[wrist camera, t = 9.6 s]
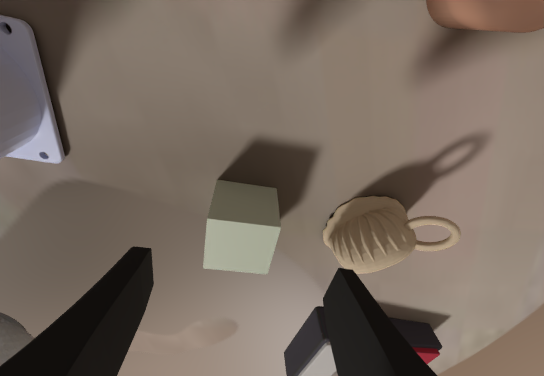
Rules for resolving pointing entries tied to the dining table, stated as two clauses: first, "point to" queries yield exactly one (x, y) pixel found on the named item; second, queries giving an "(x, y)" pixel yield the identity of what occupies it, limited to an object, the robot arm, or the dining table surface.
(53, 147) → the robot arm
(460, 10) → the terracotta cylinder
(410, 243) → the cream ribbed piece
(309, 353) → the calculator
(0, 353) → the cereal bowl
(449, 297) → the dining table surface
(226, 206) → the sage block
